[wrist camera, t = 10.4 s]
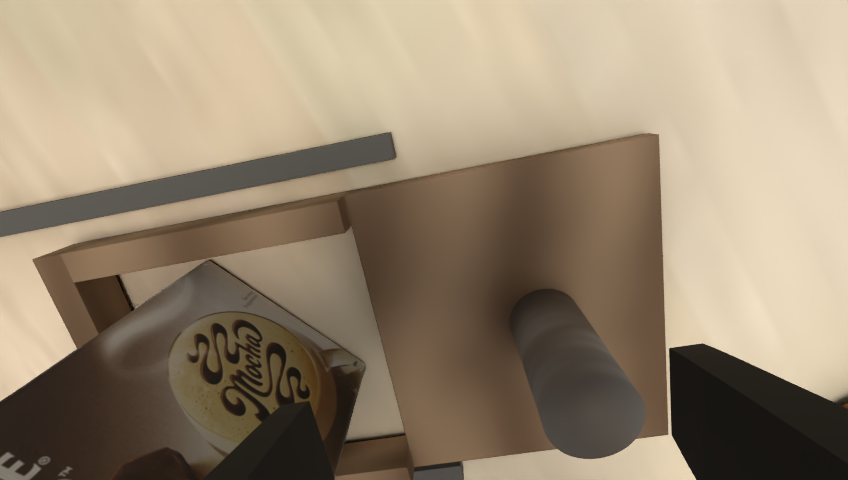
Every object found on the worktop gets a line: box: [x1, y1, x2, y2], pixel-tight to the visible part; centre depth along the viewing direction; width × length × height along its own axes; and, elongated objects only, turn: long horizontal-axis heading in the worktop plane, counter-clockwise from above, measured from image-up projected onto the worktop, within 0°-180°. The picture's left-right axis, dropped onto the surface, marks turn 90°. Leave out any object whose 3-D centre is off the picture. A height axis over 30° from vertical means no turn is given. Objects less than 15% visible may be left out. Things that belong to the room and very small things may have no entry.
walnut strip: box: [33, 133, 668, 480], centre depth 16 cm, size 25×14×7 cm, turn 101°
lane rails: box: [0, 132, 464, 480], centre depth 22 cm, size 28×30×1 cm
